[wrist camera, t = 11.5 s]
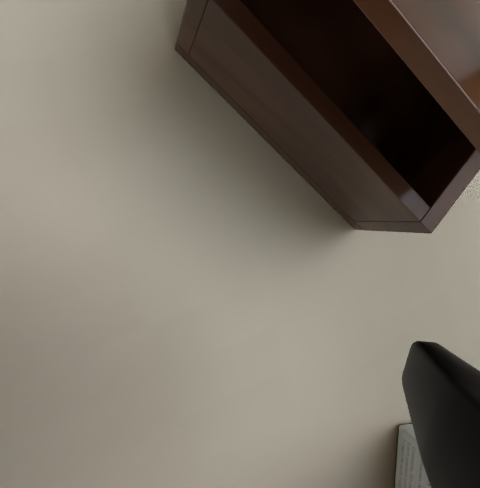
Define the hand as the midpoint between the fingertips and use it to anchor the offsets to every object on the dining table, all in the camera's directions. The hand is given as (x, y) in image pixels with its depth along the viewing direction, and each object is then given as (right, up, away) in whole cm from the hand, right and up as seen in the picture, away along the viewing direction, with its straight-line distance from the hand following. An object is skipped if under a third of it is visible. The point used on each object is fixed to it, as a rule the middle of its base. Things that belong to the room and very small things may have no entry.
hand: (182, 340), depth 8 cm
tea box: (+7, +11, +14) cm, 19 cm away
